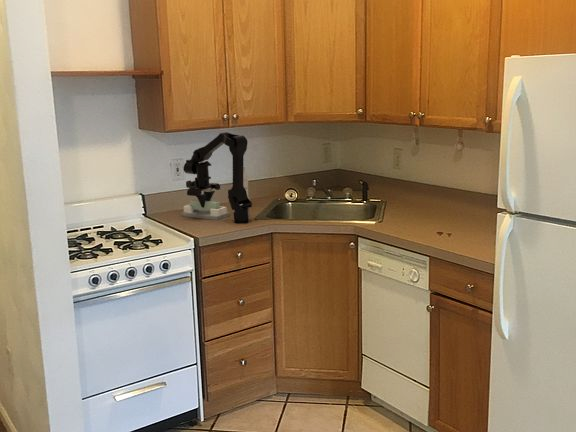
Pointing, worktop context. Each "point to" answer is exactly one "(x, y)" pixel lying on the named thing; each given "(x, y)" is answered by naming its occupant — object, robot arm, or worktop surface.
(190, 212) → the cradle
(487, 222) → the worktop surface
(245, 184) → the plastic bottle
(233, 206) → the robot arm
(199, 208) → the pale green bar
